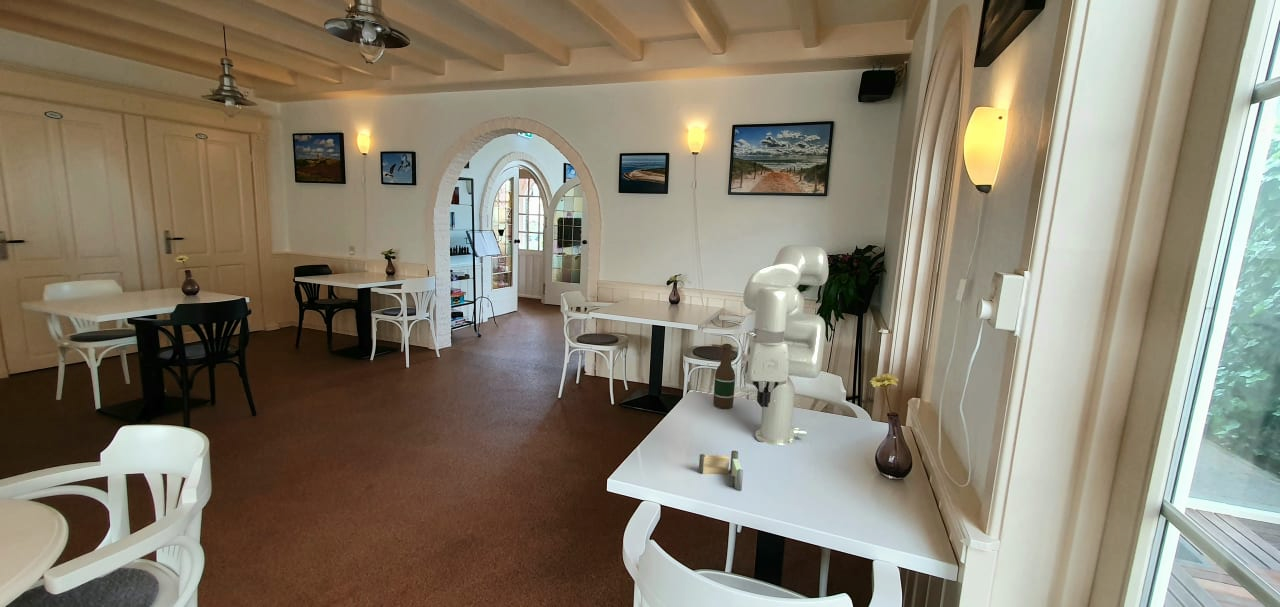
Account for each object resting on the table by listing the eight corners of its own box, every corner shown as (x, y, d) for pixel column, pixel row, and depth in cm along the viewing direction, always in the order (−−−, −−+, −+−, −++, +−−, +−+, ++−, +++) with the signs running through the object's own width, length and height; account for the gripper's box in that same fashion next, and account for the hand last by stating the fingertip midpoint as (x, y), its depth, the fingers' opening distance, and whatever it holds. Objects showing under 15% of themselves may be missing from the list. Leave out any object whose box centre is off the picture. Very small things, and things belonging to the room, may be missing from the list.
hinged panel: (731, 475, 138) (732, 457, 137) (736, 475, 138) (738, 457, 137) (736, 490, 130) (737, 471, 129) (742, 490, 130) (743, 471, 129)
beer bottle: (735, 404, 195) (740, 343, 192) (730, 410, 188) (734, 348, 185) (715, 400, 199) (720, 341, 195) (710, 407, 192) (714, 345, 188)
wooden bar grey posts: (735, 472, 140) (737, 450, 139) (744, 488, 132) (746, 465, 131) (698, 472, 140) (699, 450, 139) (704, 488, 131) (705, 465, 130)
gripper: (744, 338, 124) (738, 410, 127) (803, 340, 126) (796, 411, 128) (736, 332, 132) (731, 399, 135) (792, 333, 133) (785, 400, 136)
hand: (763, 405), depth 132 cm, fingers closed
